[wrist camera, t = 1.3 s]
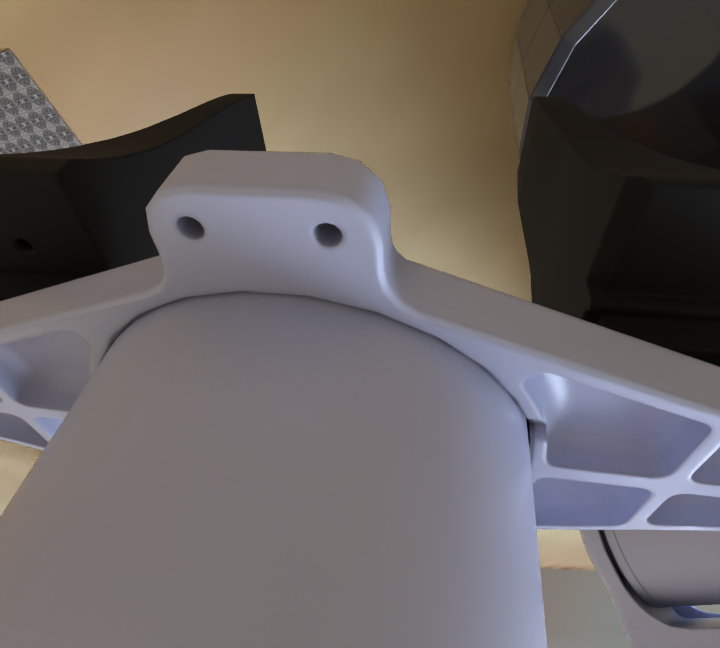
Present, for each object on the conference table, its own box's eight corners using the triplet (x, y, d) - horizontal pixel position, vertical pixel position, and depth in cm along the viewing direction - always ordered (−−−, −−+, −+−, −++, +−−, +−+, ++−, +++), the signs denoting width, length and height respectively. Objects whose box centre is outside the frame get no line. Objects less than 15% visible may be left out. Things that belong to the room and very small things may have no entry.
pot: (743, 182, 22) (811, 278, 17) (492, 176, 23) (497, 263, 19) (945, -165, 14) (1164, -146, 9) (540, -136, 15) (567, -108, 11)
